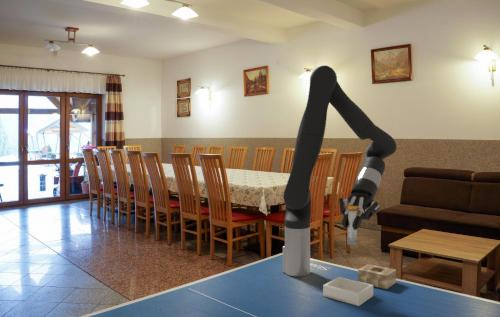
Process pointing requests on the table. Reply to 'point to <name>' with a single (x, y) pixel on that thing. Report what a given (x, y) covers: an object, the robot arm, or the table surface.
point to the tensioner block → (377, 276)
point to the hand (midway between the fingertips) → (349, 227)
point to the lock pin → (351, 232)
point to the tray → (348, 291)
